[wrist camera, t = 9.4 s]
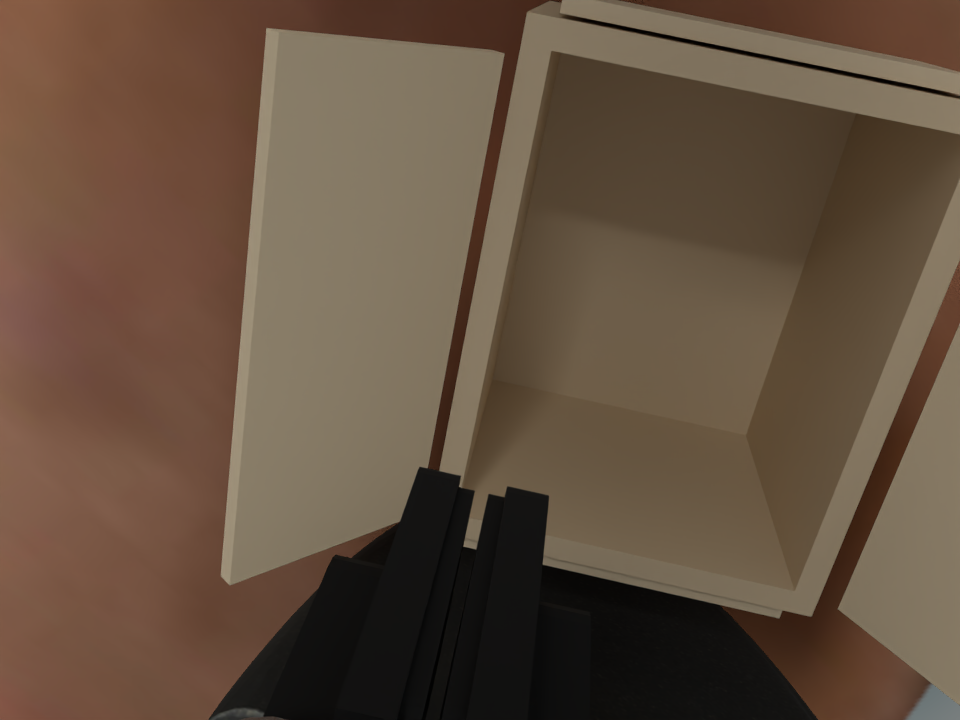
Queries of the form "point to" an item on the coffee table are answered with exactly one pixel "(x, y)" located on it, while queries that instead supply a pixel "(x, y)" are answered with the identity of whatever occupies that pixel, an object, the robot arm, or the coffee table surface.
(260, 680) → the flower pot
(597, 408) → the shipping box
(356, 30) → the coffee table surface
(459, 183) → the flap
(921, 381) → the coffee table surface
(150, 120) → the coffee table surface
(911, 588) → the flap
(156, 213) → the coffee table surface
